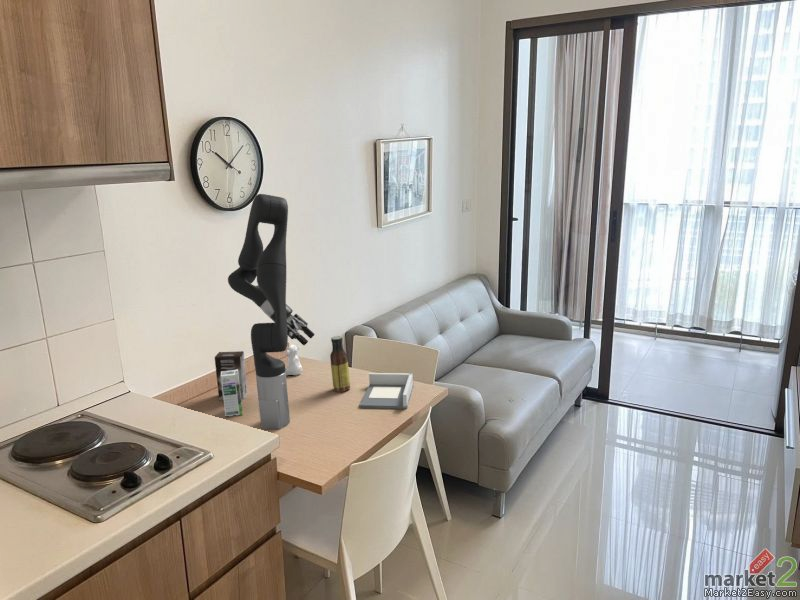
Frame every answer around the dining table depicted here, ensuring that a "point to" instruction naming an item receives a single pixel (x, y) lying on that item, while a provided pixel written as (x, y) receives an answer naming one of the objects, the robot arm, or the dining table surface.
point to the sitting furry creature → (293, 361)
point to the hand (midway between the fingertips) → (309, 340)
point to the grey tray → (388, 391)
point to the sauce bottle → (339, 365)
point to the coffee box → (231, 362)
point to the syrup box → (231, 392)
